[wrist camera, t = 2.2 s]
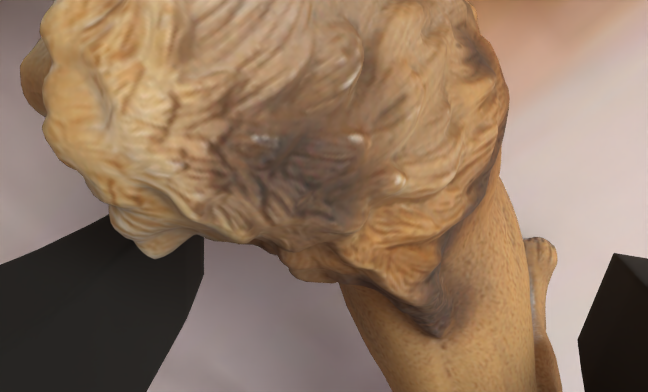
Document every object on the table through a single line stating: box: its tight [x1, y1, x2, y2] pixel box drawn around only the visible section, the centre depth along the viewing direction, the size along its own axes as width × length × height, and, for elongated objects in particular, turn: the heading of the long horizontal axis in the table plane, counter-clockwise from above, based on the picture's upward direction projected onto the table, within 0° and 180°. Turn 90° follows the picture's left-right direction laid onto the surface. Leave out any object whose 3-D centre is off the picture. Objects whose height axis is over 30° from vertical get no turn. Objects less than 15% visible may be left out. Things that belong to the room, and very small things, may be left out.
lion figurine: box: [20, 0, 562, 392], centre depth 11 cm, size 15×5×9 cm, turn 30°
